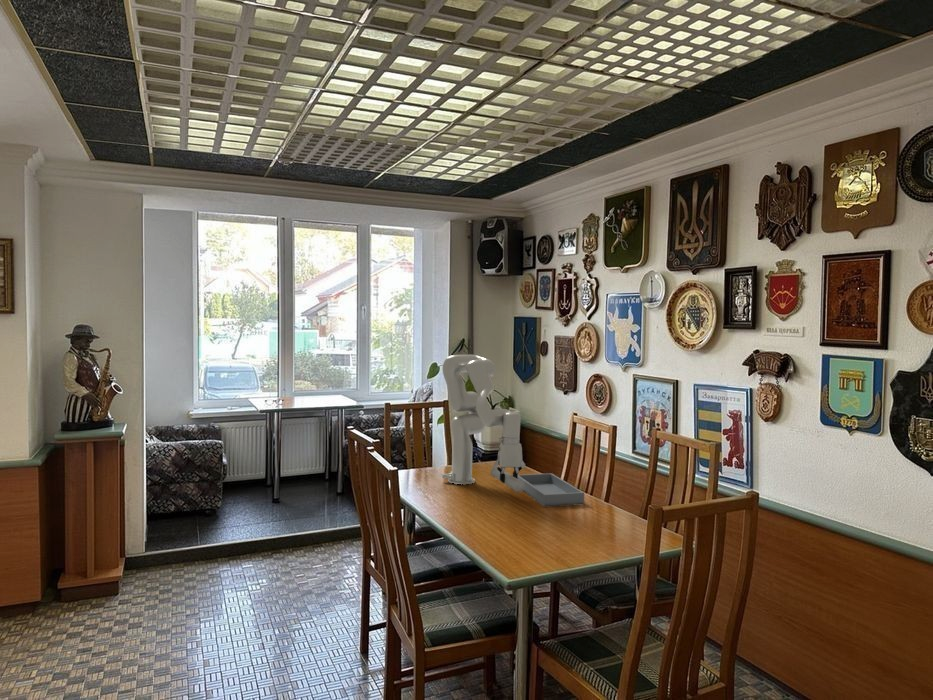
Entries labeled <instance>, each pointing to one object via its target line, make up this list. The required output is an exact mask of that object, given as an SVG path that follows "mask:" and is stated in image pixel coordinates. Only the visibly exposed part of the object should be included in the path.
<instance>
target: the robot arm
mask: <svg viewBox="0 0 933 700" xmlns="http://www.w3.org/2000/svg"><path fill="white" fill-rule="evenodd" d="M496 371H497V370H496V366H495V364H494V362H493V361H492V360H491V359H489V358H485V357H482V356H480V355H476V354H453V355H449V356H447V357H446V358H445V359H444V361H443V364H442V374H443V379H444V382H445V383H446V388H447V394H448V399H449V406H450V408H451V411H452V412H454V413H466V412H467V413H468V414H461V415H456V416H454V417H453V418H452V419H451V421H450V432H451V438H452V439H451V440H452V446H451V449H452V450H451V451H452V452H451V470H450V472H448V473H441V479H447V480H448V481H449V483H450V484H452V483H454V484H453V485H457V484H461V485H460V486H467V485H466V484H469V485H472V483H473V484H475V483H476V479H475V478H474V477H472V476H473V441H472V439H471V437H470V435H475V434H480V433H482V432H484V430H485V428H486V427H487V428H495V427H502V433H501V435H502V436H501V437H499V438H498V441H499V442H500V444H499V447H498V448H499V449H498V453H497V459H496V460H495V462H494V463H493V464H492V466H493V467H495V468H496V469H497V470H498V471H499V472H500V480H501V481H500V480H499V481H500V482H501V483H502V484H504V482H505V474H504V471H506V468H507V469H508V468H513V472H512V476H513V477H515V478H517V479H518V475H519V473H520V471H522V469H524V468H525V467H526V463H525V461H524V460H523V447H522V443H520V433H521V420H522V419H521V416H522V415H521V413H519V412H516V411H511V410H509V409H506V408H497V409H496V408H495V409H491V408H490V406H489V404H488V401H487V397H488V396H489V395H491V394H492V392H493V391H494V390H495V385H494V382H493V381H492V378H491V377H493V376H494V375H495V374H496ZM459 373H461V374H462V373H467V375H468V377H469V380H470V382H471V383H472V385H473V388H474V390H475V391H467V389H466V383H465V380H464V379H463V377H462V376H461V375H460V374H459ZM462 484H463V485H462Z"/></svg>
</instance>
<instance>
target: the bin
mask: <svg viewBox="0 0 933 700" xmlns="http://www.w3.org/2000/svg"><path fill="white" fill-rule="evenodd" d="M518 480H520V481H521V482H523V483H524V490H523V491H524V492H523V491H522V492H523V493H525V494H526V493H527V494H528V495H527V496H529V497H530V496H531V497H532V499H533V500H534V499H535V500H536V501H535V500H534V501H535V502H537V503H538V502H539V503H540V504H539V503H538V504H539V505H541V506H542V505H543V506H544V508H546V507H545V506H551V507H561V506H560V505H568V506H575V505H574V504H584V505H585V492H584V491H582V490H580V489H578V488H577V487H575V486H574V485H572V484H570V483H569V482H567V481H565V480H564V479H562V478H561V477H558V475H555V474H554V473H551V472H550V473H531V474H530V473H527V474H518ZM531 497H530V498H531ZM543 506H542V507H543Z"/></svg>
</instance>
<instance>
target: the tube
mask: <svg viewBox="0 0 933 700" xmlns="http://www.w3.org/2000/svg"><path fill="white" fill-rule="evenodd" d="M504 474H505V482H504V483H503V484H504V485H505V486H507V487H509V488H510V489H512V490H513V491H514V492H516V493H522V492H523V490H524V483H523V482H521V481H520V480H518V479H517V478H515V477H513V474H510V473H509V472H507V471H506V470H505V471H504ZM490 476H492V478H494V479H497V480H498V481H500V482H501V480H500V472H499V471H498V470H497V469H496V468H495V467H494V466H493V467H492V468H491V469H490Z"/></svg>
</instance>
